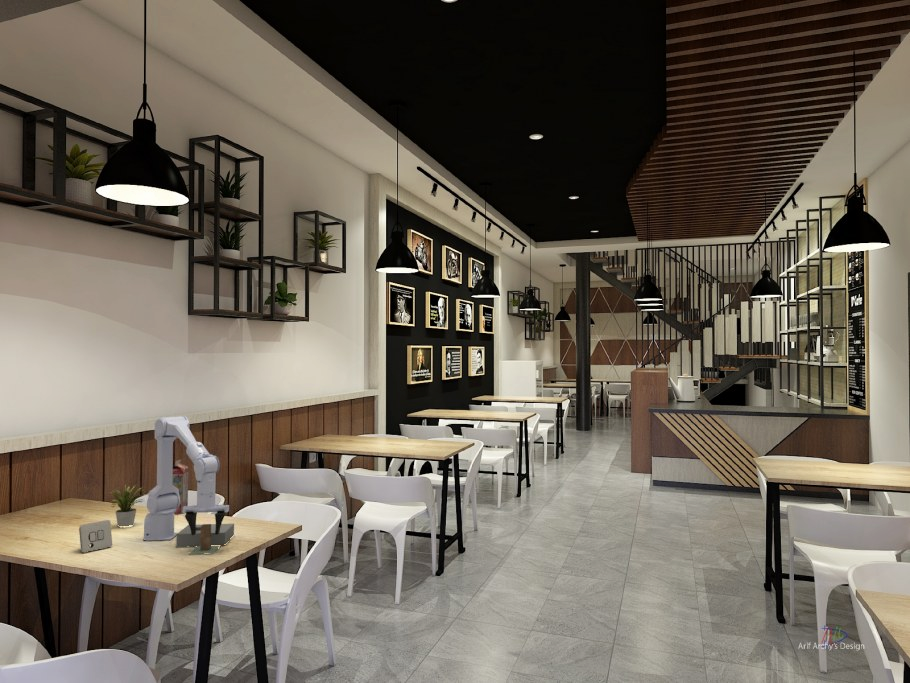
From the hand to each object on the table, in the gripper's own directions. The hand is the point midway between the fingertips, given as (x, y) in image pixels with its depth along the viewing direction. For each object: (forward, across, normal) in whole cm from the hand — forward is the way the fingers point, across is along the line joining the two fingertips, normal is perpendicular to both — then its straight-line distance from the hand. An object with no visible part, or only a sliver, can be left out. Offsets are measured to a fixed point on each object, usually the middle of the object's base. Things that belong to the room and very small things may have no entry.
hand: (205, 534), depth 202 cm
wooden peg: (+5, 0, 0) cm, 5 cm away
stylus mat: (+6, 0, 0) cm, 6 cm away
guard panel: (+6, -3, +11) cm, 13 cm away
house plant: (+6, -40, +34) cm, 53 cm away
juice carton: (+6, -28, +56) cm, 63 cm away
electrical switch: (+6, -38, +6) cm, 39 cm away
